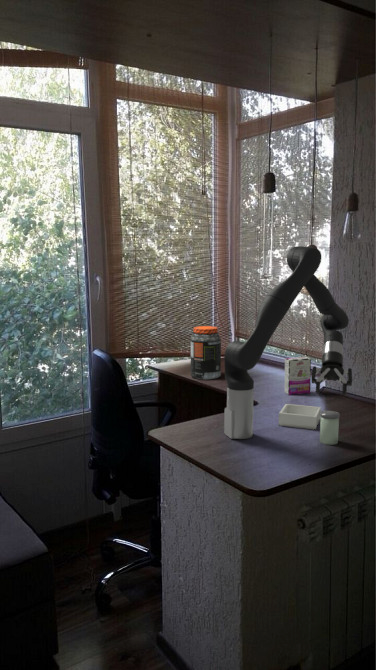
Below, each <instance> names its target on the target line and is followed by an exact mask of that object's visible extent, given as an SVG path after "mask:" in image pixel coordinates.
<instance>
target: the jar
mask: <svg viewBox="0 0 376 670" xmlns="http://www.w3.org/2000/svg"><path fill="white" fill-rule="evenodd" d="M340 416H341V415H340V412H338V411H333V410H322V411H321V412H320V421H319V424H320V426H319V442H320V443H321V444H323V445H331V446H333V445H337V444H338V442H339V428H340V427H339V424H340V418H341V417H340Z"/></svg>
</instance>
